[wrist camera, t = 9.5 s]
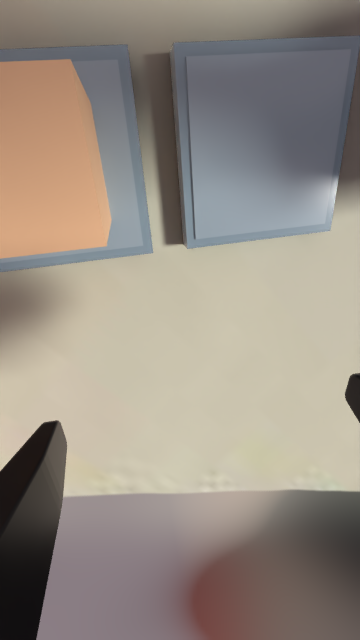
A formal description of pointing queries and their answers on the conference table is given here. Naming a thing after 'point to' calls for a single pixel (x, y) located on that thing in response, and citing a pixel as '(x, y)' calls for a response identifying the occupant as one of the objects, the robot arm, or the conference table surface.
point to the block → (49, 162)
